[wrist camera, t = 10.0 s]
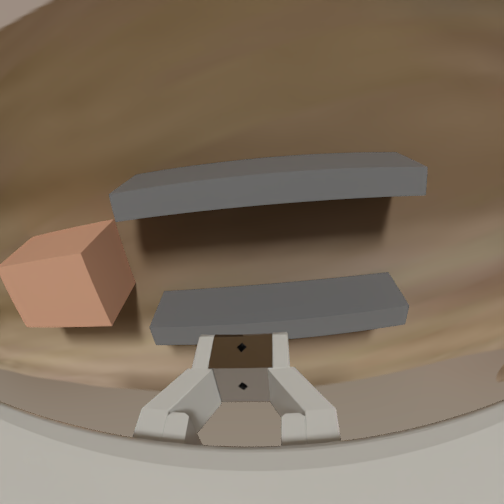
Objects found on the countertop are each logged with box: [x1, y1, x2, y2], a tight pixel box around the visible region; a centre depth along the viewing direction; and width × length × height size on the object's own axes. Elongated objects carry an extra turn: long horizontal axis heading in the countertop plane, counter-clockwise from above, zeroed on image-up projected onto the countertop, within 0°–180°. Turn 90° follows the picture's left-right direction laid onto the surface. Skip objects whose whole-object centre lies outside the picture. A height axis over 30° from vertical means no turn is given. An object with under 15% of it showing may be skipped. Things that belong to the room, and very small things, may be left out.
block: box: [0, 219, 136, 327], centre depth 19 cm, size 8×5×5 cm, turn 98°
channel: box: [109, 152, 427, 345], centre depth 18 cm, size 16×10×4 cm, turn 96°
